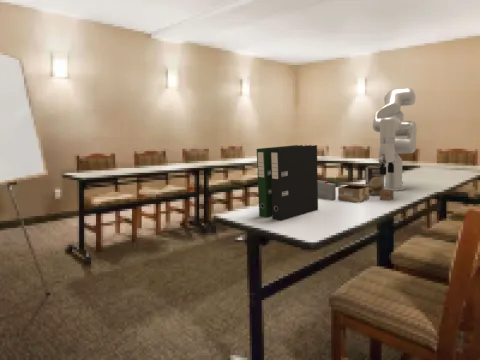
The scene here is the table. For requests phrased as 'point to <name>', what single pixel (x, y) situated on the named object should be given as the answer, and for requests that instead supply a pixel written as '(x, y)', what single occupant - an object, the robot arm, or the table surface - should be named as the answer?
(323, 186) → the cassette player
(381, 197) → the walnut block
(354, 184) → the lid
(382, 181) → the coffee box
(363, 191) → the carton
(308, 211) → the ring binders
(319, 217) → the table surface
